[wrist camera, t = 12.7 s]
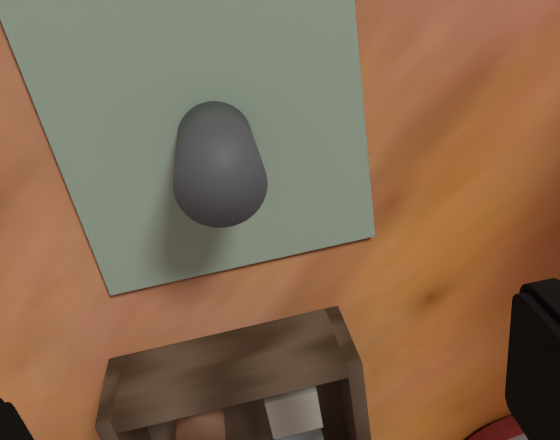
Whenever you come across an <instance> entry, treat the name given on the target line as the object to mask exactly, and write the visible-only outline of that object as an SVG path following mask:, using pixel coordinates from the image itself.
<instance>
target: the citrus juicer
mask: <svg viewBox="0 0 560 440" xmlns="http://www.w3.org/2000/svg"><path fill="white" fill-rule="evenodd" d="M468 440H528V439H527V437H526V436H525V434H524V432H523V431H522V429H521V428H520V426H519V425H518V423H517V422H516V420H515V419H514V417H513V416H510V417H507V418H504V419H502V420H499V421H497V422H495V423H493V424H491V425H489V426H487V427H485V428H483V429H482V430H480V431H479V432H477V433H476V434H475V435H473V436H472V437H470V438H469V439H468Z"/></svg>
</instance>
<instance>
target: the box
mask: <svg viewBox="0 0 560 440" xmlns="http://www.w3.org/2000/svg"><path fill="white" fill-rule="evenodd" d="M95 428H96V430H97V432H98V434H99V437H100V439H101V440H371V436H370V427H369V418H368V410H367V401H366V393H365V384H364V375H363V367H362V362H361V359H360V357H359V355H358V352H357V350H356V348H355V345H354V343H353V341H352V338H351V336H350V333H349V331H348V329H347V326H346V324H345V322H344V319H343V317H342V315H341V312H340V310H339V308H338V306H336V307H331V308H327V309H323V310H318V311H314V312H310V313H306V314H301V315H297V316H293V317H288V318H284V319H280V320H275V321H271V322H267V323H262V324H258V325H254V326H249V327H245V328H241V329H236V330H232V331H228V332H223V333H219V334H215V335H211V336H206V337H202V338H198V339H193V340H189V341H185V342H180V343H176V344H172V345H167V346H163V347H159V348H154V349H150V350H146V351H141V352H137V353H133V354H129V355H124V356H120V357H116V358H111V359H109V362H108V366H107V371H106V376H105V381H104V386H103V390H102V395H101V400H100V405H99V410H98V414H97V419H96V424H95Z"/></svg>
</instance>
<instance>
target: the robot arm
mask: <svg viewBox="0 0 560 440" xmlns="http://www.w3.org/2000/svg"><path fill="white" fill-rule="evenodd" d="M505 398H506V403H507V406H508V408H509V410H510V412H511V414H512V416H513V417H514V419H515V420H516V422H517V423H518V425H519V426H520V428H521V429H522V431H523V432H524V434H525V436H526V437H527V439H528V440H560V280H558V279H555V278H551V279H547V280H542V281H537V282H532V283H528V284H524V285H522V287H521V288H520V292H519V294H515V295H514V296H513V299H512V310H511V323H510V336H509V349H508V361H507V374H506V387H505ZM0 440H34V439H33V437H32V435H31V434H30V432H29V430H28V429H27V427H26V425H25V424H24V422H23V420H22V419H21V417H20V415H19V414H18V412H17V410H16V409H15V407H14V406H13V405H12V403H10V402H4V401H3V400H2V399H1V398H0Z"/></svg>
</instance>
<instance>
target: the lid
mask: <svg viewBox="0 0 560 440" xmlns="http://www.w3.org/2000/svg"><path fill="white" fill-rule="evenodd" d="M0 20H1V23H2V25H3V28H4V30H5V33H6V35H7V38H8V40H9V43H10V45H11V48H12V50H13V53H14V55H15V58H16V60H17V63H18V65H19V68H20V70H21V73H22V75H23V78H24V80H25V83H26V85H27V88H28V90H29V93H30V96H31V98H32V101H33V103H34V106H35V108H36V111H37V113H38V116H39V118H40V121H41V123H42V126H43V128H44V131H45V133H46V136H47V138H48V141H49V143H50V146H51V148H52V151H53V153H54V156H55V158H56V161H57V163H58V166H59V168H60V171H61V173H62V176H63V178H64V181H65V183H66V186H67V188H68V191H69V193H70V196H71V198H72V201H73V203H74V206H75V208H76V211H77V213H78V216H79V218H80V221H81V223H82V226H83V228H84V231H85V233H86V236H87V238H88V241H89V243H90V246H91V248H92V251H93V253H94V256H95V258H96V261H97V263H98V266H99V268H100V271H101V273H102V276H103V278H104V281H105V283H106V286H107V288H108V291H109V293H110V296H111V295H116V294H120V293H124V292H129V291H133V290H138V289H142V288H147V287H151V286H156V285H160V284H165V283H169V282H174V281H178V280H182V279H187V278H191V277H196V276H200V275H205V274H209V273H214V272H218V271H223V270H227V269H232V268H236V267H241V266H245V265H249V264H254V263H258V262H263V261H267V260H272V259H276V258H281V257H285V256H290V255H294V254H299V253H303V252H307V251H312V250H316V249H321V248H325V247H330V246H334V245H339V244H343V243H348V242H352V241H357V240H361V239H365V238H370V237H374V236H375V229H374V218H373V206H372V195H371V184H370V172H369V161H368V149H367V138H366V126H365V115H364V103H363V92H362V80H361V69H360V57H359V46H358V34H357V23H356V11H355V0H1V1H0Z"/></svg>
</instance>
